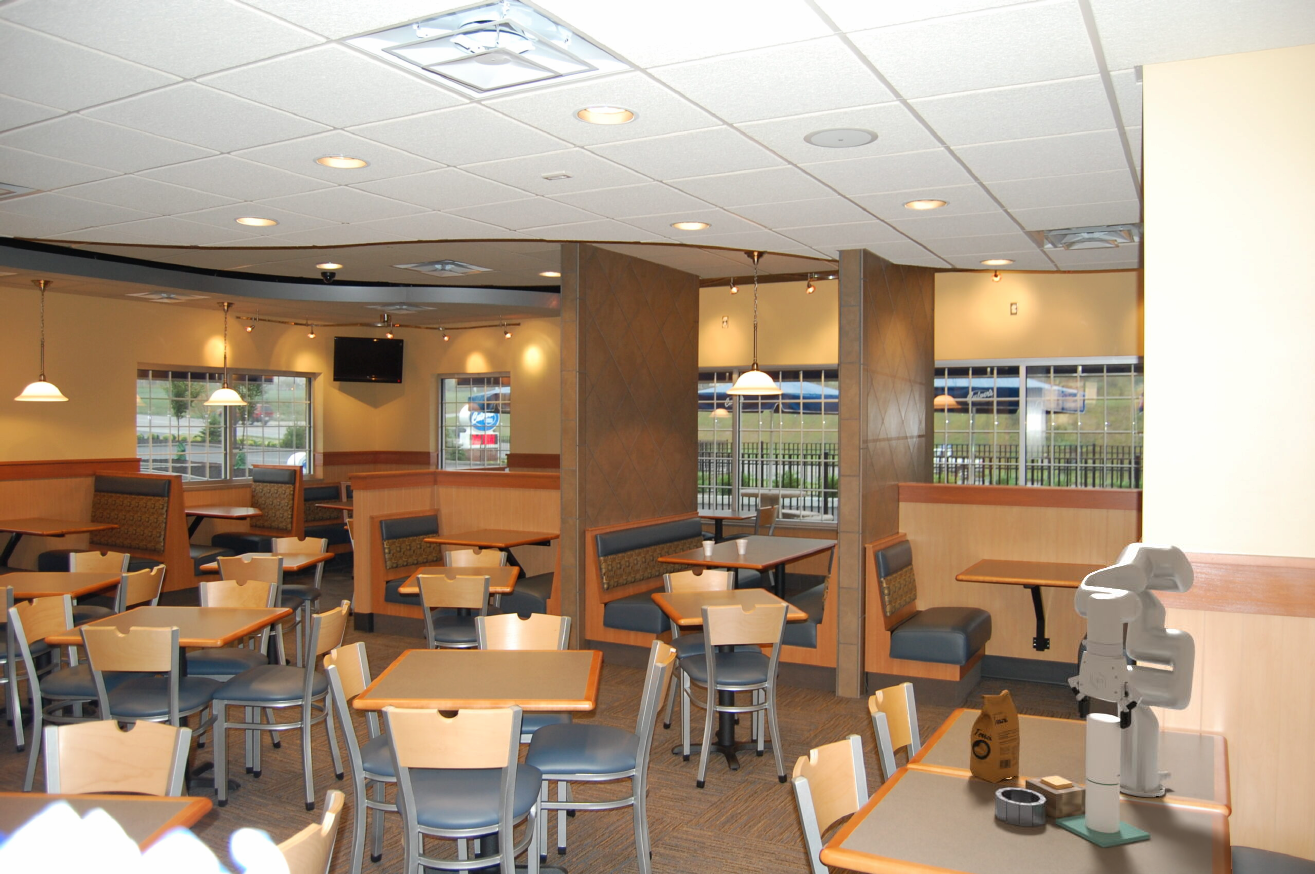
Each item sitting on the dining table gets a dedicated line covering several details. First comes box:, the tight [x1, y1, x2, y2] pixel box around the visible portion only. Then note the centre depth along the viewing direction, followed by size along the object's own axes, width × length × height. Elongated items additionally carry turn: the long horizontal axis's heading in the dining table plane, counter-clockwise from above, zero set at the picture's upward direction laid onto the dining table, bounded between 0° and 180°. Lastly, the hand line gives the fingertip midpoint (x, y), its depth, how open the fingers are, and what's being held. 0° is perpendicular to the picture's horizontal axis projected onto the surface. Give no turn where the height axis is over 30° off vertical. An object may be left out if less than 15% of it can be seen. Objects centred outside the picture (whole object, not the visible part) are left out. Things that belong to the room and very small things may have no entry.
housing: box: [1024, 774, 1086, 820], centre depth 237 cm, size 10×10×6 cm
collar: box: [994, 787, 1047, 828], centre depth 232 cm, size 11×11×5 cm
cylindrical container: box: [1085, 713, 1121, 833], centre depth 224 cm, size 7×7×25 cm
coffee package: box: [969, 689, 1021, 784], centre depth 260 cm, size 10×12×22 cm
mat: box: [1055, 814, 1151, 848], centre depth 224 cm, size 14×14×1 cm
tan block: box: [1040, 775, 1073, 790], centre depth 237 cm, size 5×5×6 cm
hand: (1104, 722), depth 225 cm, fingers open, 9 cm apart
